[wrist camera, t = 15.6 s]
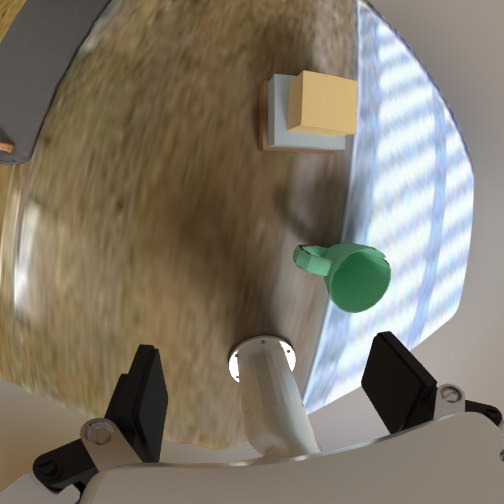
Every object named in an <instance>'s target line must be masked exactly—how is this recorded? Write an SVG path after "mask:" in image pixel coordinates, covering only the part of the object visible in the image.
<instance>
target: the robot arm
mask: <svg viewBox="0 0 504 504" xmlns="http://www.w3.org/2000/svg"><path fill="white" fill-rule="evenodd" d="M294 365H295V354H294V351H293V349H292V347H291V346H290V344H289V343H287V342H286V341H285V340H283V339H281V338H279V337H275V336H269V335H264V336H256V337H252V338H250V339H247V340H245V341H243V342H242V343H240V344H239V345H238V346H237V347H236V348H235V349H234V350H233V351H232V353H231V355H230V358H229V370H230V373H231V375H232V376H233V378H234V379H235V380H236V381H238V382H239V386H240V395H241V403H242V411H243V419H244V427H245V434H246V437H247V440H248V442H249V443H250V445H251V446H252V447H253V448H254V449H255V450H256V451H257V452H258V453H259V454H261V455H262V456H263V457H259V458H255V459H249V460H242V461H235V462H227V463H162V462H159V458H160V451H161V443H162V437H163V430H164V423H165V417H166V411H167V405H168V393H167V389H166V384H165V380H164V375H163V370H162V365H161V360H160V354H159V350H158V349H154V346H153V345H142V344H140V345H139V347H138V349H137V352H136V354H135V357H134V360H133V362H132V365H131V367H130V370H129V373H128V374H121V376H120V378H119V380H118V383H117V385H116V388H115V390H114V393H113V395H112V398H111V401H110V403H109V406H108V409H107V412H106V414H105V417H104V418H95V419H91V420H89V421H87V422H86V423H85V424H84V425H83V426H82V428H81V430H80V436H81V438H80V439H78V440H75V441H73V442H71V443H69V444H66V445H64V446H62V447H59V448H57V449H55V450H52V451H50V452H47V453H45V454H42V455H41V456H39V457H38V458H37V459H36V460H35V462H34V464H33V472H32V473H31V474H29V475H28V473H25V474H24V475H23V476H21V477H20V478H19V479H18V480H16V481H15V482H14V483H13V484H11V485H10V486H9V487H7V488H6V489H5V490H4V491H2V492H1V493H0V504H504V419H502V414H501V413H500V411H499V410H498V409H497V408H496V407H493V406H490V405H486V404H481V403H477V402H472V401H468V400H465V395H464V392H463V391H462V389H460V388H459V387H458V386H456V385H452V384H443V385H441V386H440V387H439V388H437V387H436V384H437V381H436V380H435V379H434V378H433V377H432V376H431V374H430V373H429V372H428V371H427V370H426V369H425V368H424V367H423V366H422V364H421V363H420V362H419V361H418V360H417V359H416V358H415V357H414V356H413V355H412V354H411V353H410V352H409V350H408V349H407V348H406V347H405V346H404V345H403V344H402V343H401V342H400V341H399V340H398V339H397V338H396V337H395V336H394V335H393V333H392V332H390V331H387V332H380V333H378V334H377V335H376V336H375V337H374V339H373V342H372V346H371V350H370V353H369V357H368V360H367V364H366V367H365V371H364V374H363V377H362V381H361V385H362V388H363V389H364V391H365V393H366V394H367V396H368V397H369V399H370V401H371V402H372V404H373V406H374V407H375V409H376V411H377V412H378V414H379V416H380V417H381V419H382V420H383V422H384V424H385V426H386V427H387V429H388V431H389V432H390V434H391V435H388V436H384V437H381V438H378V439H374V440H371V441H367V442H364V443H360V444H356V445H352V446H348V447H344V448H340V449H335V450H331V451H325V452H323V451H322V449H321V447H320V445H319V444H318V442H317V440H316V437H315V435H314V433H313V430H312V428H311V425H310V422H309V419H308V416H307V414H306V411H305V408H304V405H303V402H302V399H301V396H300V394H299V391H298V388H297V385H296V382H295V379H294V376H293V373H292V370H293V368H294Z"/></svg>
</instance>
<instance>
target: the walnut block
mask: <svg viewBox="0 0 504 504" xmlns="http://www.w3.org/2000/svg"><path fill="white" fill-rule="evenodd" d="M269 81H270V80H264V81H263V82H262V84H261V86H260V103H259V151H273V152H295V153H311V154H334V150H326V149H312V148H296V147H272V146H268V83H269Z"/></svg>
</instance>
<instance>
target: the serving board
mask: <svg viewBox="0 0 504 504" xmlns="http://www.w3.org/2000/svg"><path fill="white" fill-rule="evenodd" d="M110 1H111V0H27V1H26V2H25V4H24V5H23V7H22V9H21V10H20V12H19V13H18V15H17V16H16V18H15V19H14V21H13V23H12V24H11V26H10V28H9V30H8V32H7V33H6V35H5V37H4V38H3V40H2V42H1V44H0V163H2V164H5V165H12V164H18V163H24V162H27V161H29V160H30V159H31V157H32V154H33V152H34V149H35V146H36V142H37V139H38V137H39V134H40V131H41V128H42V126H43V123H44V120H45V118H46V116H47V113H48V111H49V109H50V107H51V105H52V102H53V99H54V96H55V94H56V91H57V88H58V86H59V85H60V83H61V81H62V80H63V78H64V76H65V75H66V72H67V70H68V69H69V67H70V65H71V62H72V60H73V58H74V57H75V55H76V53H77V51H78V49H79V48H80V46H81V45H82V44H83V42H84V40H85V39H86V38H87V37H88V35H89V33H90V31H91V28H92V27H93V25H94V23H95V22H96V21H97V19H98V18H99V16H100V14H101V13H102V12H103V11H104V9H105V8H106V7H107V5H108V4H109V3H110Z"/></svg>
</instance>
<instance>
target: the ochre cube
mask: <svg viewBox="0 0 504 504" xmlns="http://www.w3.org/2000/svg"><path fill="white" fill-rule="evenodd" d="M356 117H357V81H353V80H349V79H345V78H340V77H336V76H331V75H326V74H321V73H316V72H311V71H305V70H303V71H302V72H301V73H300V74H299V75H298V76H297V77H296V78H295V79H294V80H293V81H292V82H291V83H290V84H289V104H288V123H287V131H293V132H302V133H310V134H317V135H324V136H331V137H337V136H344V135H350V134H356Z"/></svg>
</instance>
